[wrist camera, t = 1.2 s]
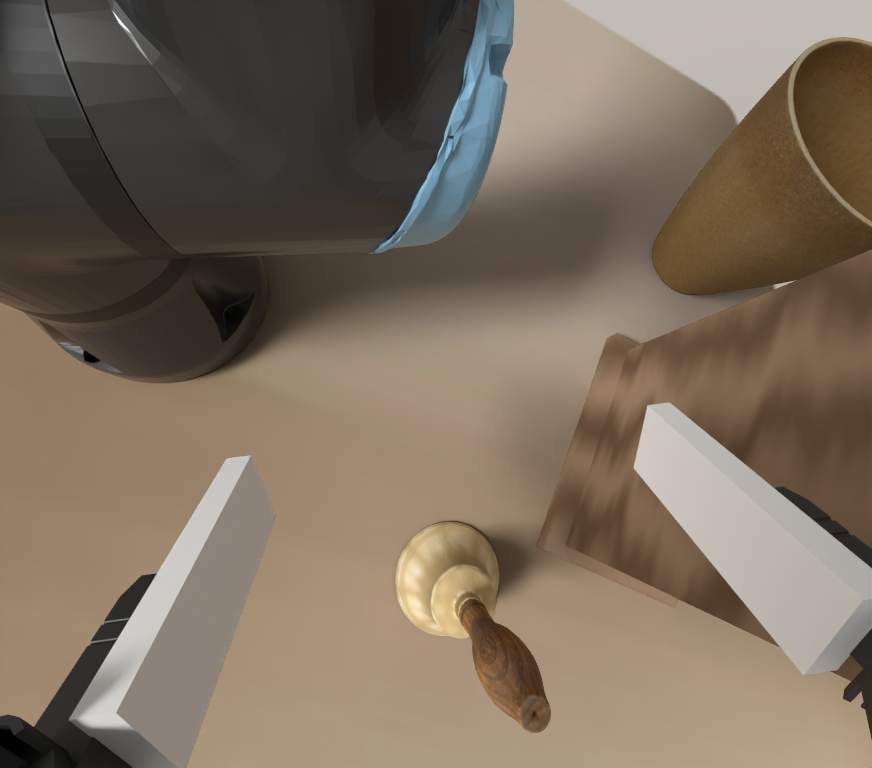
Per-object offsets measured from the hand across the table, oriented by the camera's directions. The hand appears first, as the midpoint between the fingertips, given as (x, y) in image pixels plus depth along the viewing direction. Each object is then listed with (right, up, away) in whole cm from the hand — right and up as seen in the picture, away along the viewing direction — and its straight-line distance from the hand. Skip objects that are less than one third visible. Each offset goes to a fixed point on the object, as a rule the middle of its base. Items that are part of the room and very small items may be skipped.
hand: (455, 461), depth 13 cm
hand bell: (0, -13, +17) cm, 21 cm away
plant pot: (+25, +15, +26) cm, 39 cm away
